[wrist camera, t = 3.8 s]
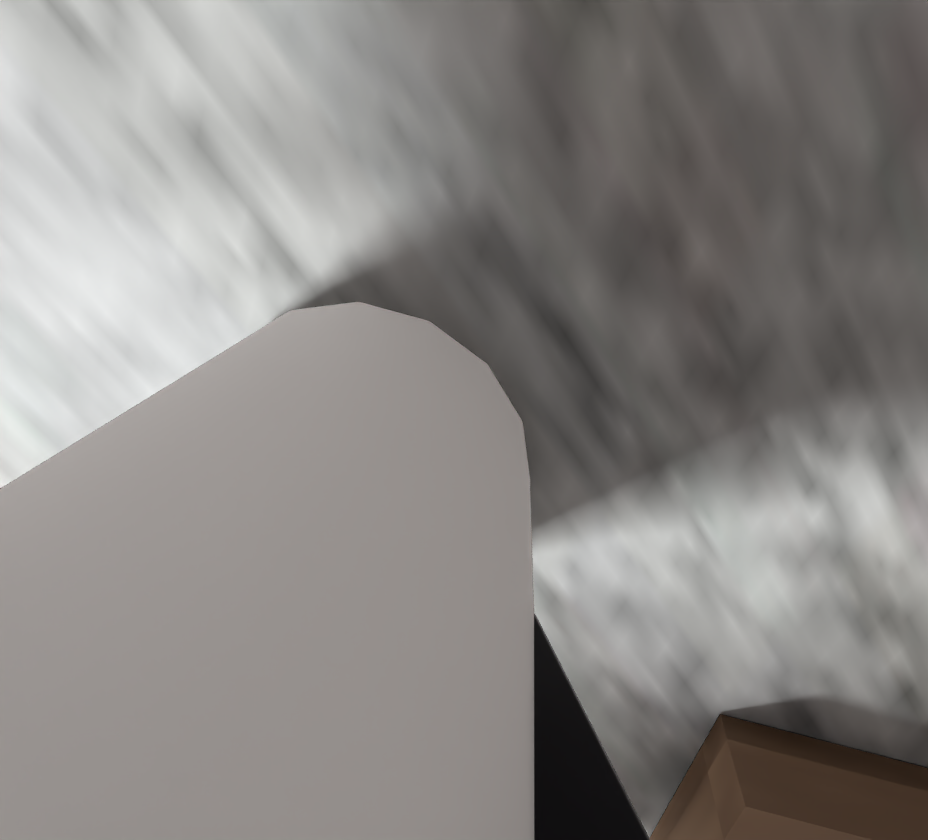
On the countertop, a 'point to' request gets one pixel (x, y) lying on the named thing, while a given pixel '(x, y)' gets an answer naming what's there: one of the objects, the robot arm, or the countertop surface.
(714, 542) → the countertop surface
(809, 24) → the countertop surface
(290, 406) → the white cylinder
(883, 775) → the walnut tray
